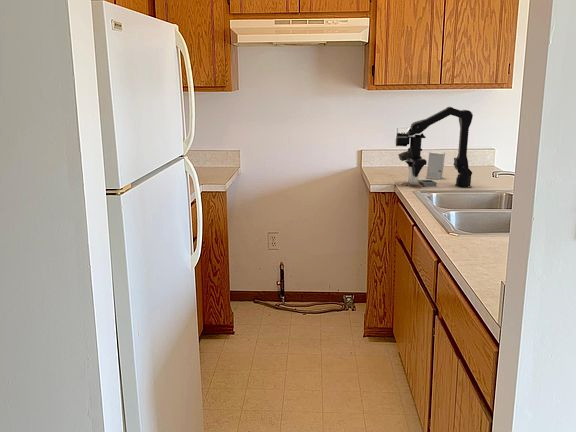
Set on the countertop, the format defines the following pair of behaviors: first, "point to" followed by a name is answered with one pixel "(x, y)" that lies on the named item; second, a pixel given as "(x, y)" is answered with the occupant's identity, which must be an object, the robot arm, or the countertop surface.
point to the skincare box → (435, 165)
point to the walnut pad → (412, 184)
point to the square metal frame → (427, 182)
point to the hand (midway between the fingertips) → (413, 175)
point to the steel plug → (412, 176)
